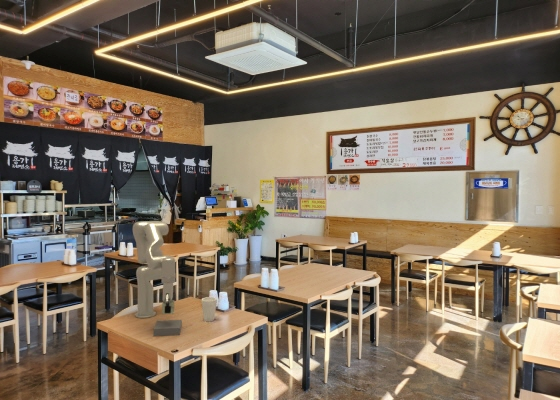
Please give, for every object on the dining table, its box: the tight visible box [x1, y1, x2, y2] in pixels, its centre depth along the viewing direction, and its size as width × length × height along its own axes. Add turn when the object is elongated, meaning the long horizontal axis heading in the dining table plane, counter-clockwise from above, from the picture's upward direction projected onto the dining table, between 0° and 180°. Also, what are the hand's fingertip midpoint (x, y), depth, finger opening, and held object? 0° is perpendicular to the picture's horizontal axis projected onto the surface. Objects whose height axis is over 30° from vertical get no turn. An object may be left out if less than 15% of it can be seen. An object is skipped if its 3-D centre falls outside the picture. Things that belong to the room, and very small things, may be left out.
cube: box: [161, 299, 175, 315], centre depth 225 cm, size 6×6×6 cm
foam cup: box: [201, 296, 218, 323], centre depth 246 cm, size 10×9×13 cm
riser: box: [153, 319, 182, 337], centre depth 225 cm, size 14×14×4 cm
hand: (168, 310), depth 225 cm, fingers closed on cube, 6 cm apart
